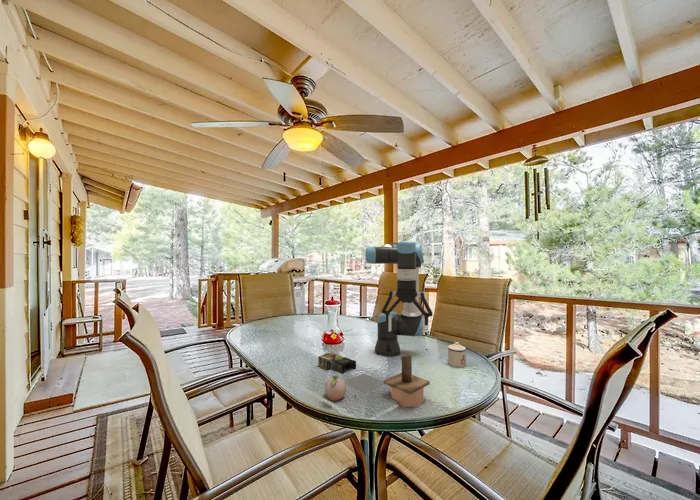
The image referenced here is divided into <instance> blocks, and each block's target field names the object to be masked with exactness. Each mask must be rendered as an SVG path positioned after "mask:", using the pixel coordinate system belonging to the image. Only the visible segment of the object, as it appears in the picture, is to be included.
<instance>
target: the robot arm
mask: <svg viewBox="0 0 700 500" xmlns="http://www.w3.org/2000/svg"><path fill="white" fill-rule="evenodd" d="M364 252H365V254H364V255H365V257H364V258H365V262H366V263H367V264H372V265H374V264H377V265H378V264H381V265H382V264H385V265H386V264H391V265H393V264H394V265H397V267H396V269H397V271H396V272H397V273H396V274H397V275H396V277H397V278H396V279H397V281H396V286H397V287H396V288H397V289H396V291H393V290H390V291H389V292H388V293H389V294H388V298H387V299H386V302H385V304H384V305H383V307H382V310H381V313H380V314H378V315H377V321H376V322H377V340H376V343H375V346H374V353H375V354H376V355H378V356H381V357H395V356H400V354H401V347H400V344H399V341H398V336H406V337H421V336H422V335H425V334H426V326H429V317H432V316H433V311H432V309H431V307H430V305H429V303H428V301H427V299H426V297H425V292H424V291H421V292H420V288H419V287H420V285H419V284H420V272H419V270H420V269H421V268H422V264H424V263H425V260H424V251H423V245H422V243H420V242H415V241H409V240H407V241H406V240H405V241H399V242H390V243H386V244H383V245H382V244H381V246H368V247H366V249H365V251H364ZM395 296H396V297H397V299H396V300H395V302H394V303H393V304H392V305H391V307H390V308H389V309H388V307H389V305H390V303H391V302H392V299H393V298H394V297H395ZM420 299H421V301H422V304H423V305H424V307H425V308H423V306H422V305H421V304H420V301H419V300H420ZM399 303H402V304H403V310H401V312H400V314H398V312H397V311H393V310H394V309H395V308H396V307H397V306H398V305H399ZM426 310H427V311H426Z"/></svg>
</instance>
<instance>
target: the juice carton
mask: <svg viewBox="0 0 700 500" xmlns="http://www.w3.org/2000/svg"><path fill="white" fill-rule="evenodd" d="M317 362H318V365H317V366H318V367H319V368H321V369H324V370H327V371H331V370H332V371H335V372H337V373H340V374H343V375H344V373H345V368H346V366H349V367H352V368H353V370H356V369H357V361H356V360H354V359H351V358H349V357H346V356H343V355H340V354H337V353H334V352H326V353H324V354H322V355H319V356H318V359H317Z"/></svg>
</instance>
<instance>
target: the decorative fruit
mask: <svg viewBox="0 0 700 500" xmlns="http://www.w3.org/2000/svg"><path fill="white" fill-rule="evenodd" d="M344 381H345V380H343V379H342V378H340V377H339V376H338V375H333V376H332V377H330V378H329V379H327V381H326V382H325V395H326V396H327V398H328V399H329V400H330V401H340V400H341V399H342V398H343V397H344V396H345V395H346V392H347V384H345V382H344Z"/></svg>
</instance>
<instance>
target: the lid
mask: <svg viewBox="0 0 700 500" xmlns="http://www.w3.org/2000/svg"><path fill="white" fill-rule="evenodd" d="M412 358H413V356H412V355H411V354H408V353H403V354H401V372H399V373H397V374H395V375H394V376H391V377H388V378H386V379H384V380H383V381H384V384H383V385H386V386H389V387H390V388H391V387H393V388H396V389H398V390H401V391H403V392H405V393H408V394H412V393H414V392H416V391H418V390H420V389H422V388H423V389H424V388H425V387H428V386H429V385H431V384H430V380H428V379H425V378H421V377H419V376H417V375H413V374H412V369H413V367H412V363H413V362H412V360H413V359H412Z"/></svg>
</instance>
